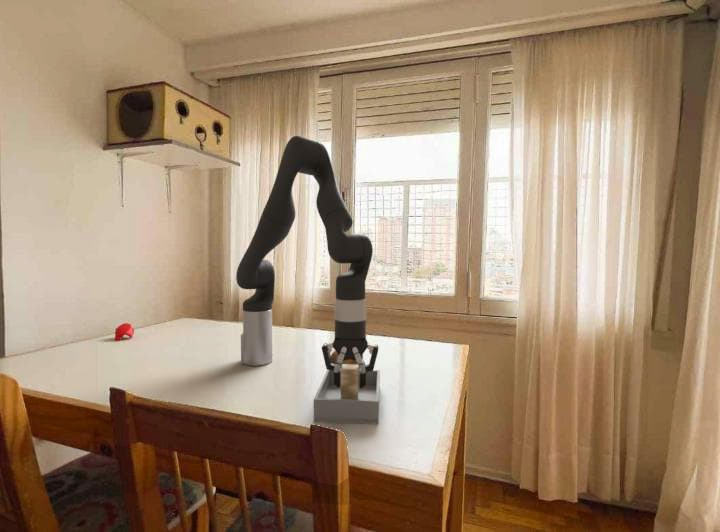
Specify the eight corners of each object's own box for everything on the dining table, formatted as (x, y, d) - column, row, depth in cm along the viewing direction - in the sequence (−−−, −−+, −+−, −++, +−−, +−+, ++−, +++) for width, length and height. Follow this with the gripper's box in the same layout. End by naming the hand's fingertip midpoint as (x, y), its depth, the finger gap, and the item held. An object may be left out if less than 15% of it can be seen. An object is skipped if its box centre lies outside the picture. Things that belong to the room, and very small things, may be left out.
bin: (313, 421, 82) (313, 399, 81) (327, 387, 101) (327, 368, 101) (378, 424, 81) (378, 401, 80) (379, 388, 101) (379, 370, 100)
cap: (123, 328, 157) (112, 323, 152) (136, 323, 156) (125, 318, 151) (121, 346, 153) (109, 341, 148) (134, 341, 152) (122, 337, 147)
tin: (335, 384, 104) (335, 354, 103) (326, 381, 106) (326, 352, 105) (363, 369, 117) (364, 342, 116) (355, 367, 118) (355, 340, 118)
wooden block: (340, 402, 89) (340, 369, 89) (342, 396, 93) (342, 364, 93) (357, 403, 89) (357, 370, 88) (358, 396, 93) (358, 364, 92)
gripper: (317, 319, 87) (318, 392, 88) (380, 321, 86) (379, 394, 87) (323, 313, 94) (323, 380, 95) (380, 314, 93) (380, 382, 94)
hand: (350, 386), depth 91 cm, fingers open, 5 cm apart
